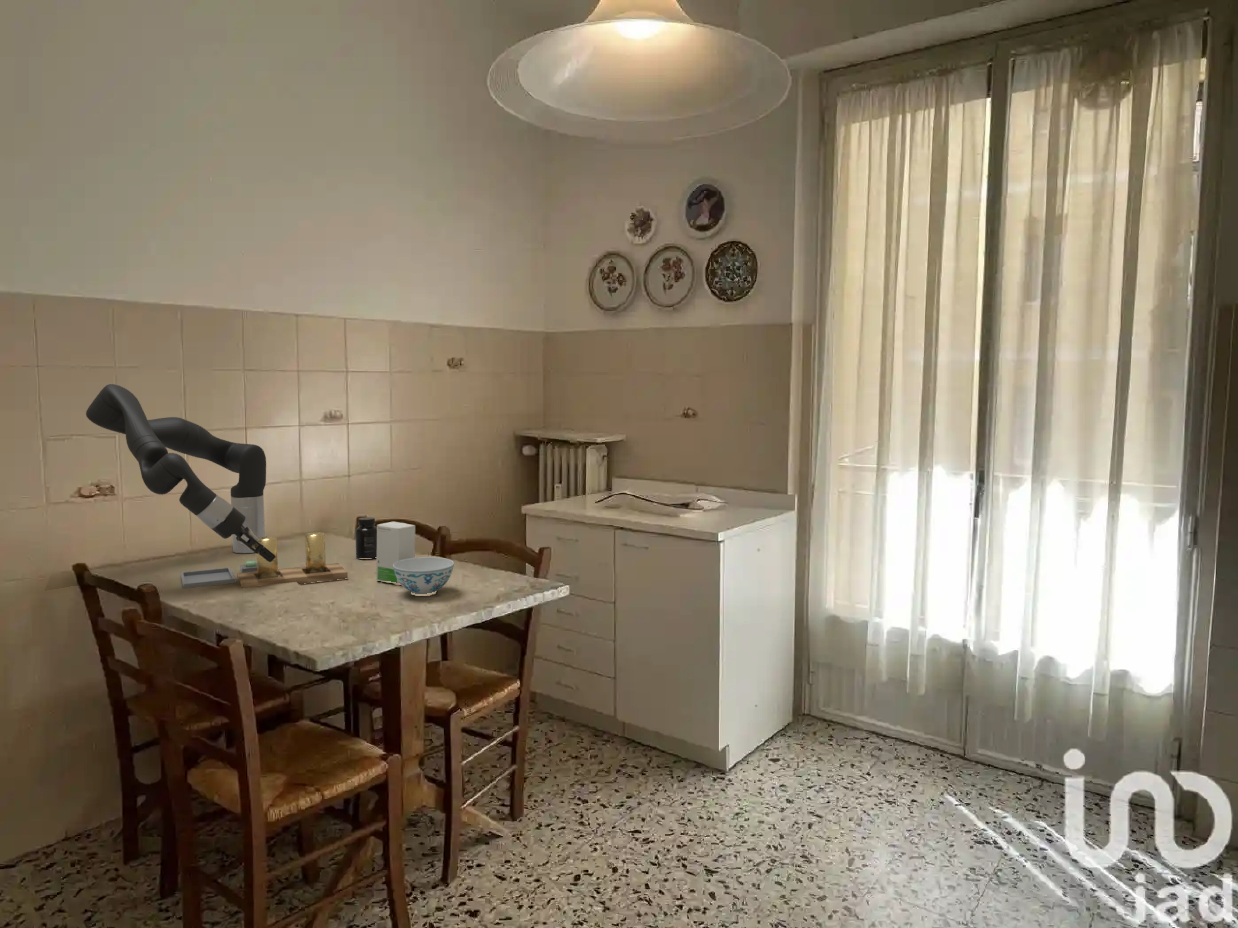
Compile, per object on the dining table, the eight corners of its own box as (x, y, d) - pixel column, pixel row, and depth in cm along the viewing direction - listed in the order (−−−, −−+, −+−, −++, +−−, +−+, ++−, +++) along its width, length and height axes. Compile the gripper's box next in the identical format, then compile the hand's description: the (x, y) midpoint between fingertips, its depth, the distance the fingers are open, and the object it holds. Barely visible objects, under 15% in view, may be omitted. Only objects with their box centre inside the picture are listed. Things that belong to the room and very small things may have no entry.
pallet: (237, 580, 218) (237, 573, 218) (338, 569, 231) (338, 562, 231) (242, 591, 208) (242, 583, 208) (347, 579, 221) (347, 572, 221)
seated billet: (304, 576, 224) (303, 533, 222) (323, 574, 226) (322, 531, 225) (308, 580, 219) (307, 536, 218) (327, 578, 222) (326, 534, 221)
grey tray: (180, 579, 219) (180, 572, 218) (230, 574, 225) (230, 567, 225) (183, 591, 207) (183, 584, 206) (235, 586, 213) (235, 578, 213)
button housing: (240, 573, 226) (240, 565, 225) (260, 571, 228) (259, 563, 228) (242, 577, 221) (242, 568, 221) (262, 575, 224) (262, 566, 224)
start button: (245, 565, 225) (244, 561, 225) (256, 564, 226) (255, 560, 226) (246, 567, 223) (246, 563, 222) (257, 566, 224) (257, 562, 224)
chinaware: (383, 591, 209) (383, 562, 209) (436, 582, 219) (436, 554, 218) (410, 604, 198) (409, 573, 197) (465, 594, 208) (464, 564, 207)
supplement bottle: (383, 555, 250) (382, 516, 249) (374, 560, 244) (373, 520, 242) (361, 554, 251) (360, 516, 250) (351, 559, 244) (351, 520, 243)
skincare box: (375, 582, 219) (374, 524, 217) (393, 576, 225) (392, 520, 223) (399, 586, 215) (398, 527, 213) (416, 580, 221) (416, 523, 219)
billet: (256, 581, 218) (255, 537, 216) (276, 579, 220) (275, 535, 219) (259, 586, 213) (257, 540, 212) (279, 583, 216) (278, 539, 214)
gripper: (207, 523, 214) (256, 561, 221) (212, 532, 202) (263, 572, 209) (229, 501, 216) (277, 540, 223) (234, 509, 204) (285, 550, 211)
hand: (270, 556), depth 216 cm, fingers open, 8 cm apart
